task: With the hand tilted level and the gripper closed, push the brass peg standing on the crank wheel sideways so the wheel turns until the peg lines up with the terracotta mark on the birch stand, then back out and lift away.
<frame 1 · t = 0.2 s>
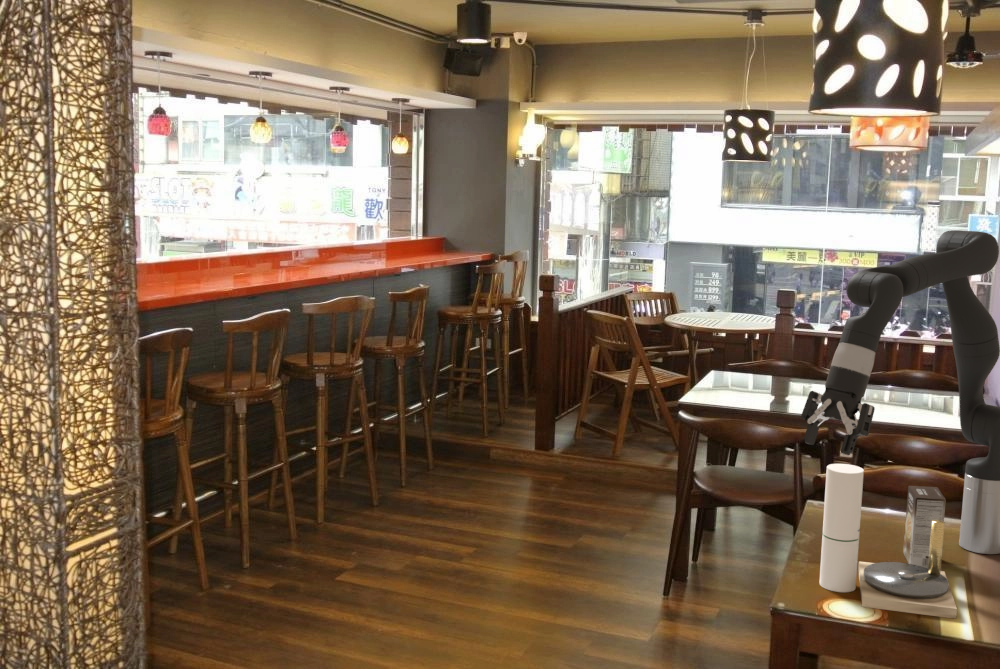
hand: (826, 449, 197), 31 cm above the table, tool tilted 20°, fingers open, 8 cm apart
coffee box: (921, 562, 222), on the table
crank wheel: (907, 553, 204), point 8 cm above the table, hinge at -25.0°
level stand: (904, 593, 205), on the table
cylindrical container: (837, 586, 209), on the table
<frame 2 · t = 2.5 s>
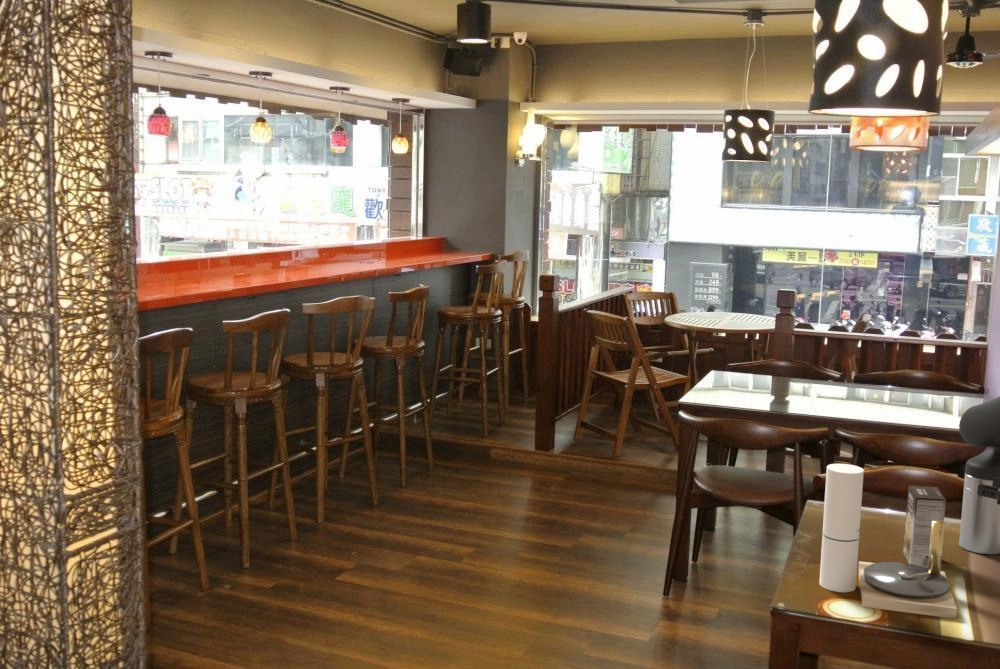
hand: (986, 485, 197), 24 cm above the table, tool horizontal, fingers open, 6 cm apart
nothing on the table moved.
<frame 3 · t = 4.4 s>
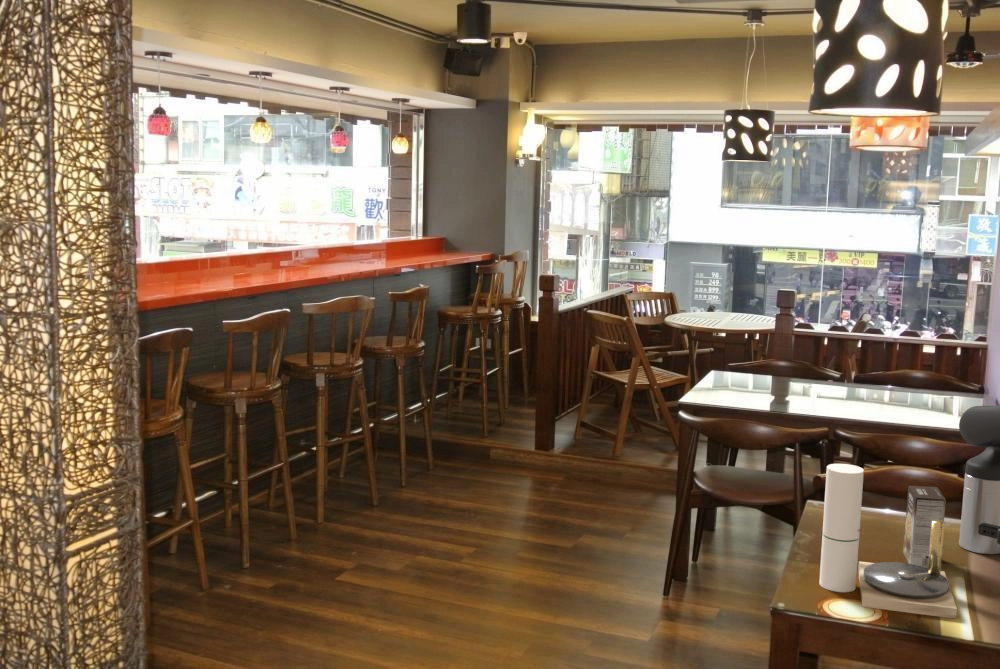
hand: (979, 528, 199), 15 cm above the table, tool horizontal, fingers closed
nothing on the table moved.
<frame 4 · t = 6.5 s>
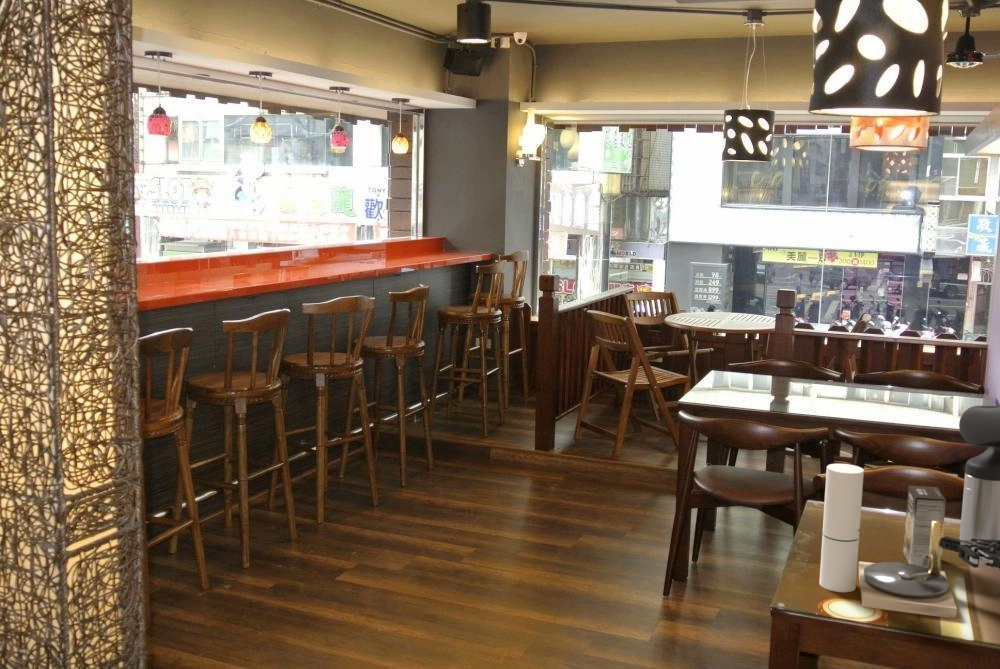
hand: (942, 541, 205), 10 cm above the table, tool horizontal, fingers closed
crank wheel: (907, 553, 204), point 8 cm above the table, hinge at -25.0°, touching gripper
everything else where it was.
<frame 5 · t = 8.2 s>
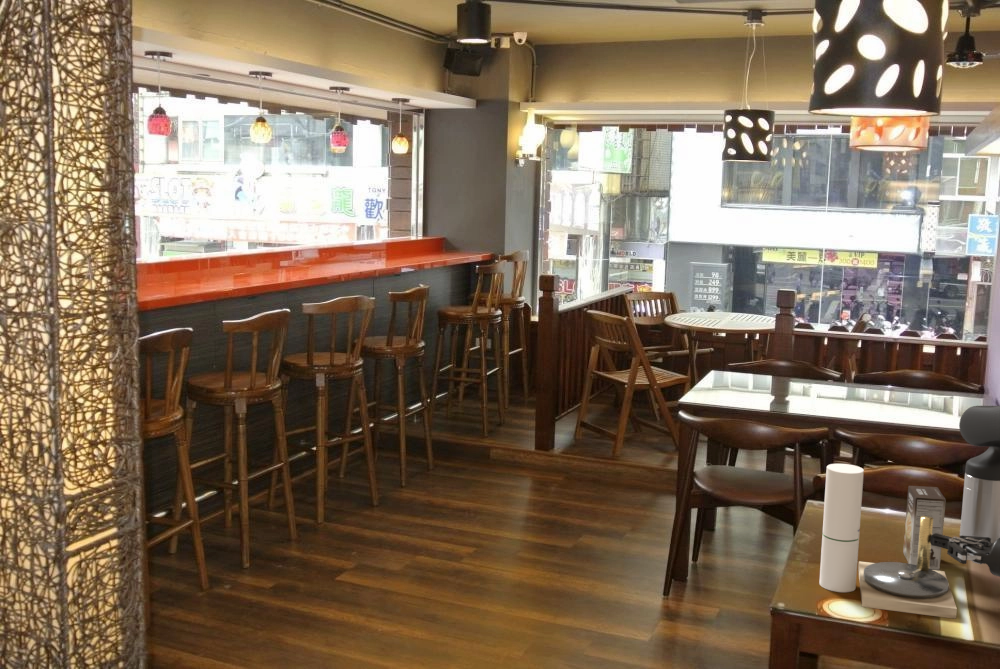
hand: (932, 538, 207), 11 cm above the table, tool horizontal, fingers closed
crank wheel: (907, 553, 204), point 8 cm above the table, hinge at -2.9°
everything else where it was.
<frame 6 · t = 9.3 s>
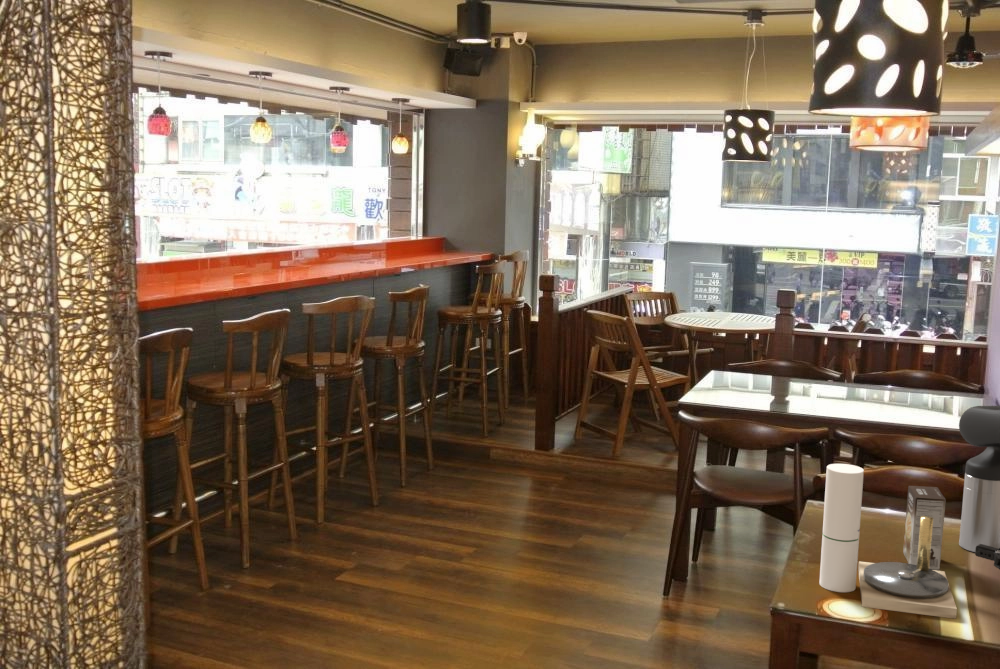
hand: (976, 549, 200), 11 cm above the table, tool horizontal, fingers closed
nothing on the table moved.
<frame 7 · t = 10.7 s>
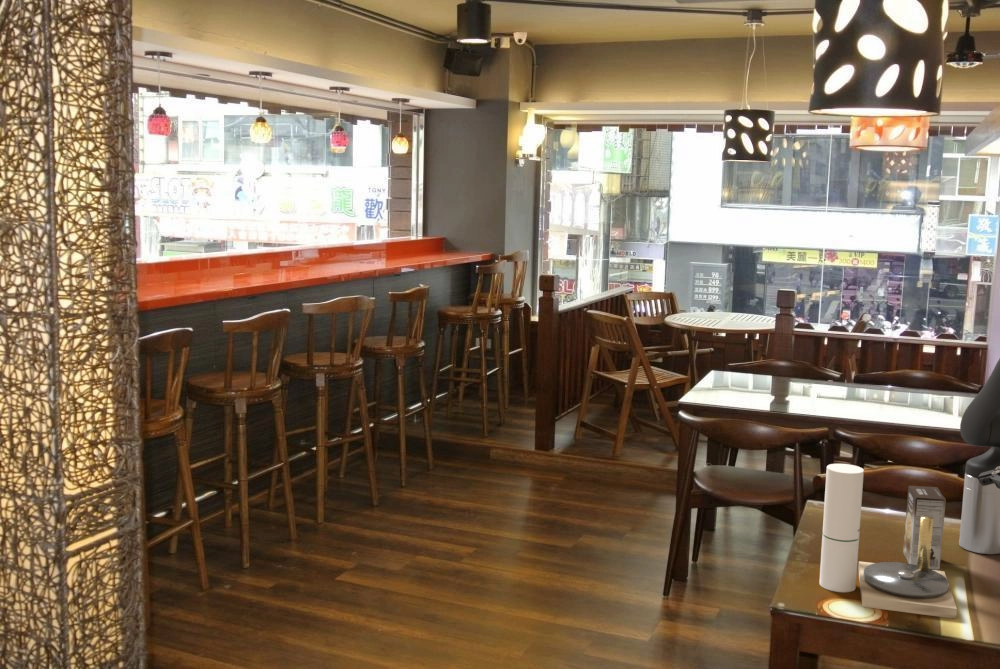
hand: (981, 479, 203), 24 cm above the table, tool tilted 60°, fingers closed
nothing on the table moved.
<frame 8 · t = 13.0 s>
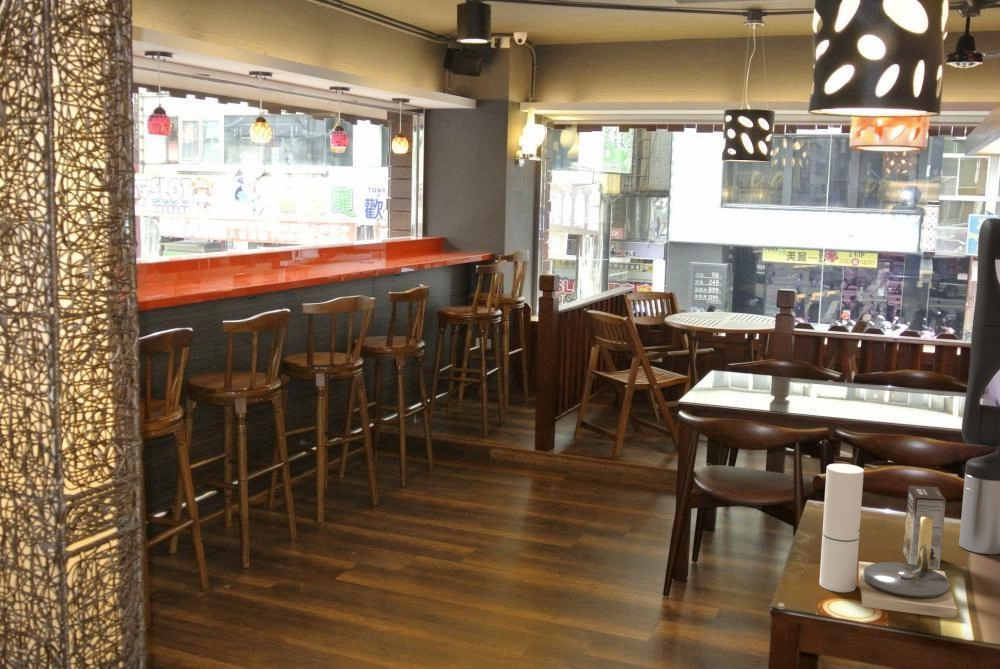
nothing on the table moved.
at the end: crank wheel at -3° (first picture: -25°); cylindrical container moved 0.2 cm from its start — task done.
